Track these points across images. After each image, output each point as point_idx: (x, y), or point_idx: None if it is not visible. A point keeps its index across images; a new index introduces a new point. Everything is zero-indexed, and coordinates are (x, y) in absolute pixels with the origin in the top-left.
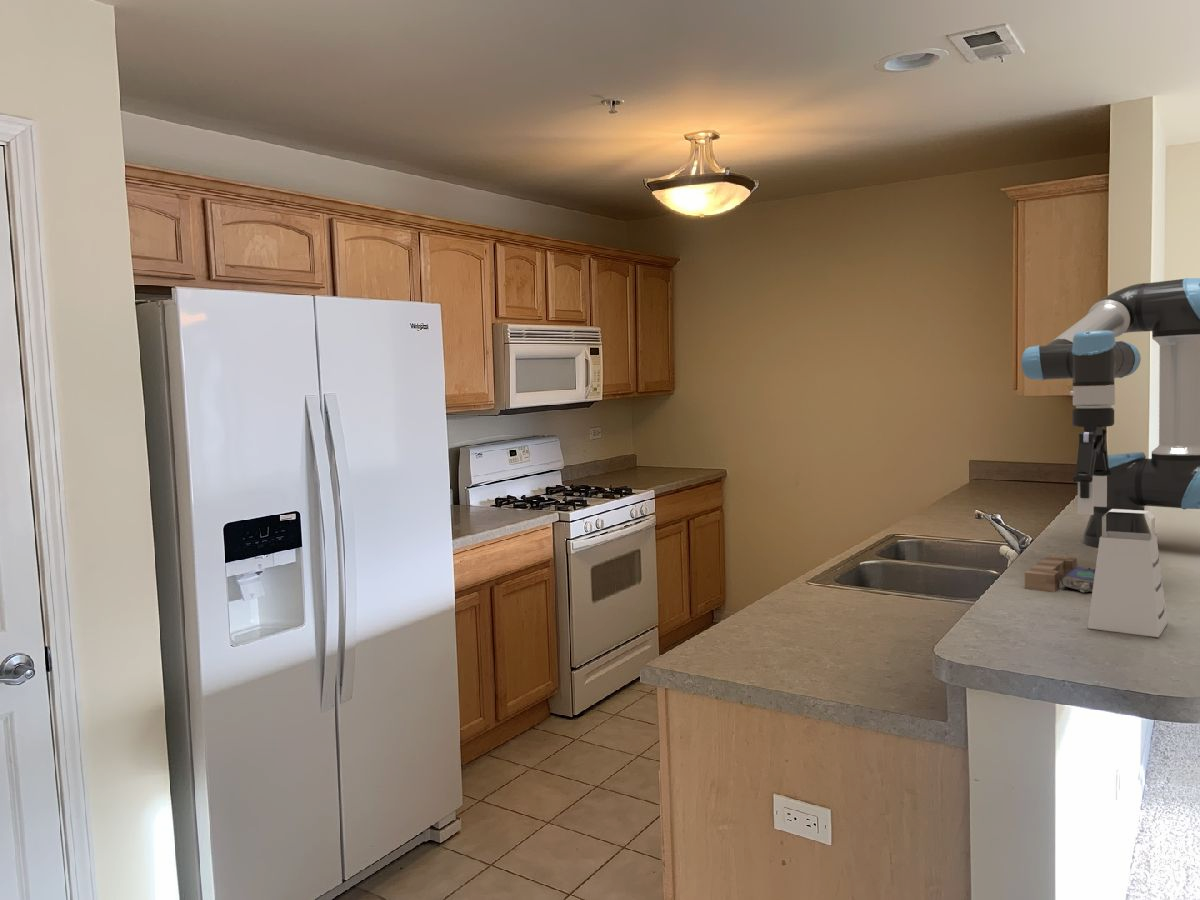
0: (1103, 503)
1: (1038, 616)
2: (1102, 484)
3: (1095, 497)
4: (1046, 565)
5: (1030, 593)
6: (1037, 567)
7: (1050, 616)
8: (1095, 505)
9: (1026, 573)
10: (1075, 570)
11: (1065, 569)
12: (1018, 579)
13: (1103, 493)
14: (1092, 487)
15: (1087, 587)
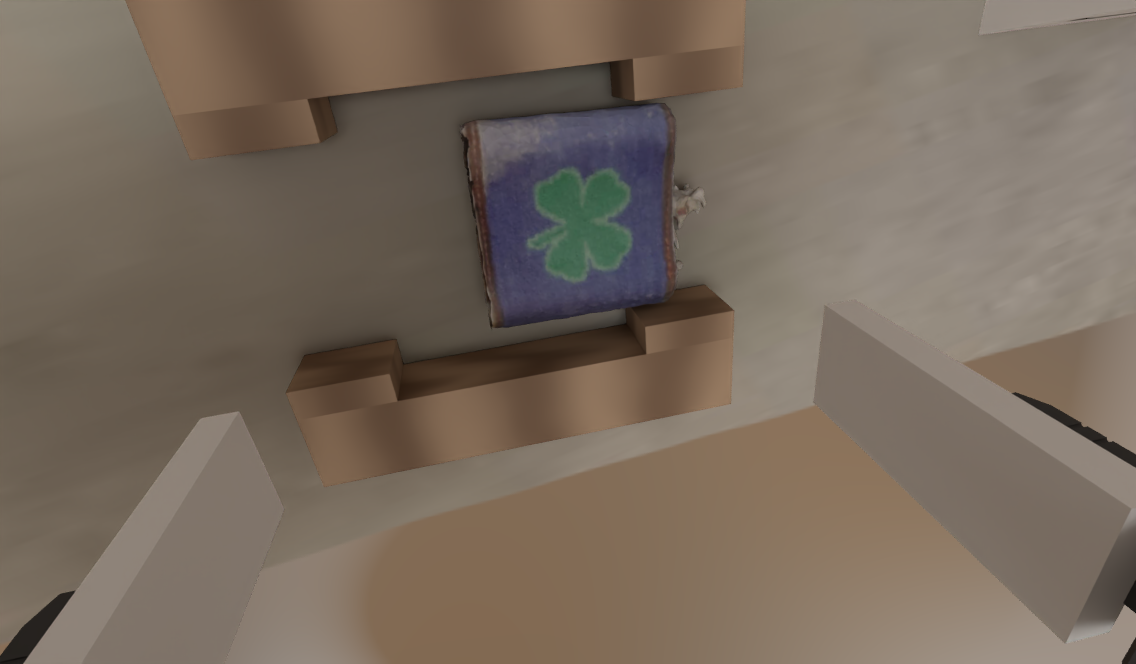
0: (233, 452)
1: (1046, 193)
2: (137, 652)
3: (245, 553)
4: (556, 406)
5: (752, 334)
6: (615, 412)
7: (1038, 164)
8: (272, 490)
9: (730, 396)
10: (564, 294)
11: (399, 377)
12: (561, 448)
13: (191, 533)
14: (1099, 450)
15: (681, 190)
